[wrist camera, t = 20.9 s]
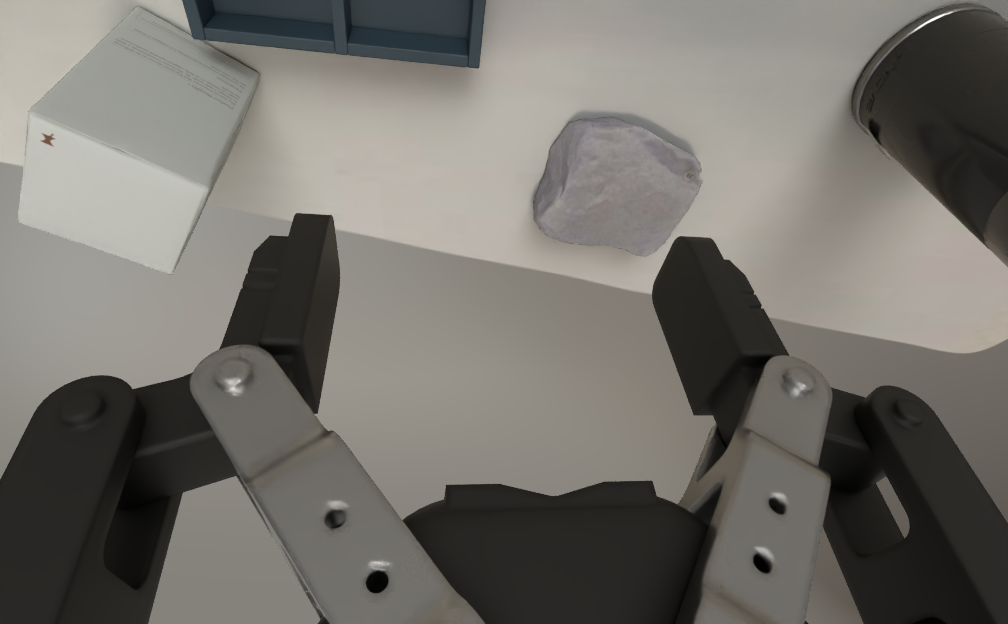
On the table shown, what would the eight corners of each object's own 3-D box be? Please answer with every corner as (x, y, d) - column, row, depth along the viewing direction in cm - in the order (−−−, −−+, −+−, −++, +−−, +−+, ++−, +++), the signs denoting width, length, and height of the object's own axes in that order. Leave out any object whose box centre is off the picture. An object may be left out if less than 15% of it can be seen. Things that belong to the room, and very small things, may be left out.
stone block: (562, 95, 39) (522, 216, 44) (581, 115, 35) (535, 245, 40) (698, 130, 42) (645, 238, 48) (728, 152, 38) (667, 267, 44)
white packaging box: (112, 101, 35) (8, 222, 26) (137, 0, 31) (22, 106, 22) (230, 158, 38) (171, 280, 30) (266, 75, 34) (210, 189, 26)
